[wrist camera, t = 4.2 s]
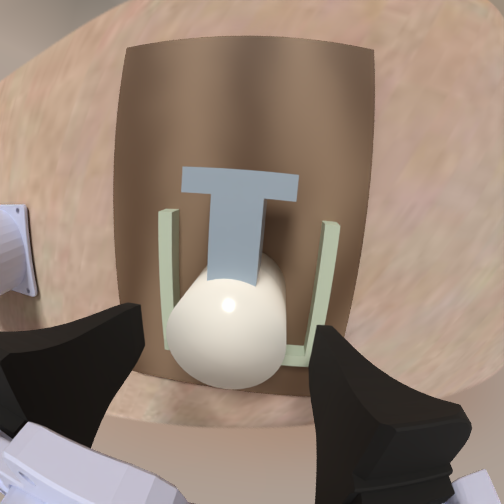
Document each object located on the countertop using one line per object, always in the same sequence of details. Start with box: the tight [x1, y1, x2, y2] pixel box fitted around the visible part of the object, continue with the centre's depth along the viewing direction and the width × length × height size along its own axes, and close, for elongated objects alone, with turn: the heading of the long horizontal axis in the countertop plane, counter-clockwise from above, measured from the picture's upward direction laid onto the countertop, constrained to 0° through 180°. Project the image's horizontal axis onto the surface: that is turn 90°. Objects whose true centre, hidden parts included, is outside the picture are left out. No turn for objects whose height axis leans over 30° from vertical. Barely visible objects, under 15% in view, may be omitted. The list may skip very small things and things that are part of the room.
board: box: [113, 36, 375, 396], centre depth 17 cm, size 15×23×1 cm, turn 176°
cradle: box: [158, 209, 340, 367], centre depth 17 cm, size 10×9×1 cm
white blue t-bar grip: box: [166, 167, 299, 389], centre depth 14 cm, size 9×5×6 cm, turn 175°
